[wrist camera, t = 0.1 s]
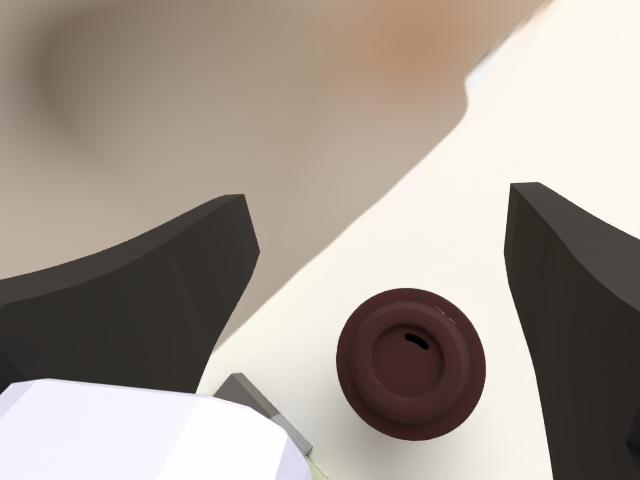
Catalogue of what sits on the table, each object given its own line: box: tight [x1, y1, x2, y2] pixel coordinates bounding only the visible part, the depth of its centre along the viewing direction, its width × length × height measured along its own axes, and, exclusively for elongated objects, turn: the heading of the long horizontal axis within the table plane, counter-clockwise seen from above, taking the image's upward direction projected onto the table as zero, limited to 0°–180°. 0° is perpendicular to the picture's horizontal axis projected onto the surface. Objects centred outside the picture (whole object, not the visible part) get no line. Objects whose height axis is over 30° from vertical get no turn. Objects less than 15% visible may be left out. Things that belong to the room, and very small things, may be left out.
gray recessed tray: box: [213, 373, 313, 457], centre depth 41 cm, size 10×13×2 cm
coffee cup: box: [336, 288, 486, 441], centre depth 33 cm, size 10×10×15 cm
